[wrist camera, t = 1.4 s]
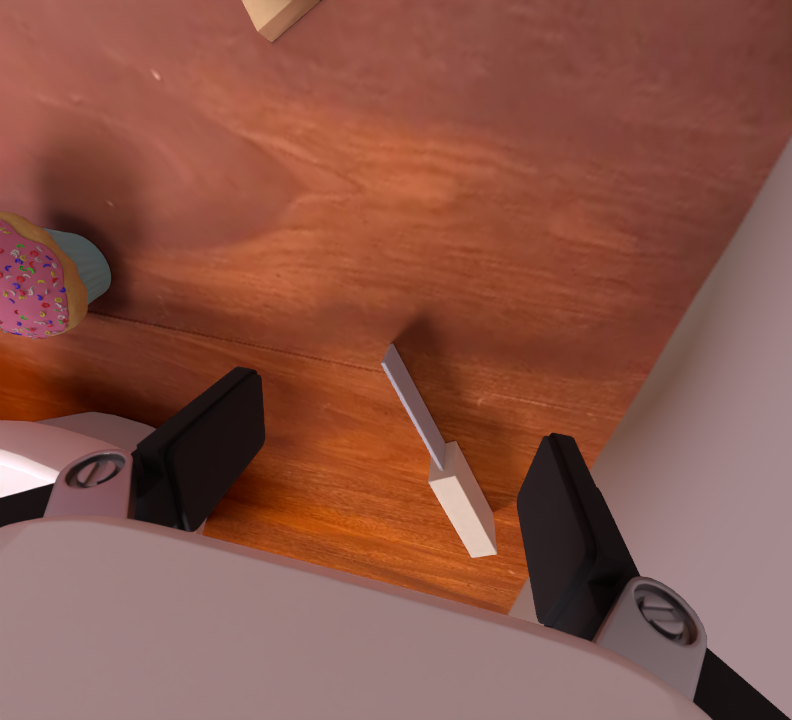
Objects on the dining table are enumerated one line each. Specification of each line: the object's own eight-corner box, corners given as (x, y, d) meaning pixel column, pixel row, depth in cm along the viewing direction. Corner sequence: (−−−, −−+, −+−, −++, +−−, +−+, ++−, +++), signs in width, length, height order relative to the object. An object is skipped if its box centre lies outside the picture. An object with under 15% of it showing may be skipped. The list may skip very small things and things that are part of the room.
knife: (493, 513, 31) (497, 554, 28) (470, 517, 32) (471, 558, 28) (404, 338, 25) (395, 362, 21) (378, 348, 25) (365, 373, 22)
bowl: (267, 425, 31) (187, 521, 22) (244, 570, 43) (187, 671, 34) (24, 336, 31) (-154, 395, 22) (68, 505, 43) (-35, 588, 34)
